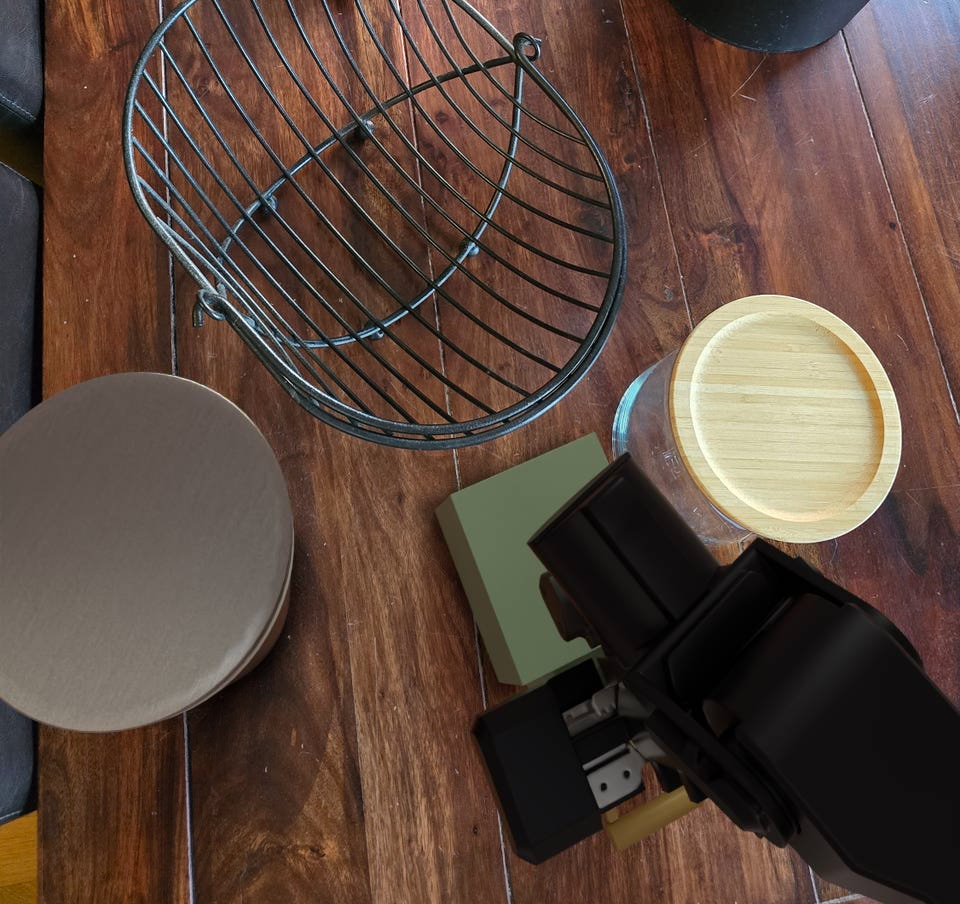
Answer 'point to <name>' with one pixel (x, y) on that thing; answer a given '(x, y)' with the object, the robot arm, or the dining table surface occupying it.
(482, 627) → the cabinet
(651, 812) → the drawer
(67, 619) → the round grey canister
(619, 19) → the dining table surface
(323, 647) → the dining table surface
